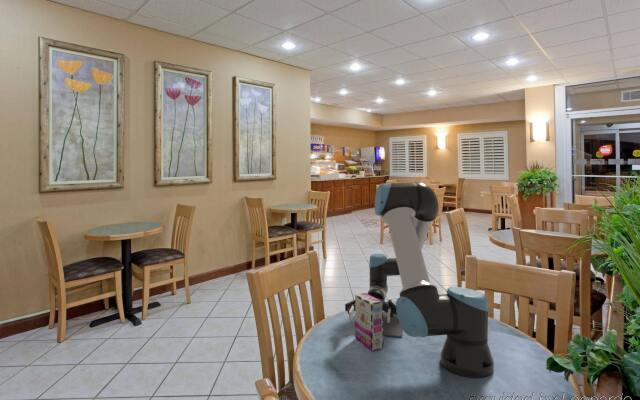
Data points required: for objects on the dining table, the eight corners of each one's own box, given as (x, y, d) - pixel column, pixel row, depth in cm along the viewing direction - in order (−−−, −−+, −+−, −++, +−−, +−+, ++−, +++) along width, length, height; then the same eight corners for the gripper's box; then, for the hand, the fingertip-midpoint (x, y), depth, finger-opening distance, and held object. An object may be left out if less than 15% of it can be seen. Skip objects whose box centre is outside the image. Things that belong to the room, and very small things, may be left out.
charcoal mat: (404, 314, 151) (404, 313, 151) (402, 337, 130) (402, 336, 130) (363, 311, 156) (363, 310, 156) (355, 333, 135) (355, 331, 135)
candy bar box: (384, 348, 122) (384, 301, 121) (371, 352, 120) (371, 304, 119) (366, 335, 132) (366, 292, 131) (354, 338, 130) (354, 294, 129)
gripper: (406, 308, 145) (404, 331, 125) (346, 304, 152) (334, 324, 132) (406, 290, 145) (404, 310, 125) (345, 286, 152) (334, 304, 131)
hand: (368, 317), depth 128 cm, fingers open, 13 cm apart
